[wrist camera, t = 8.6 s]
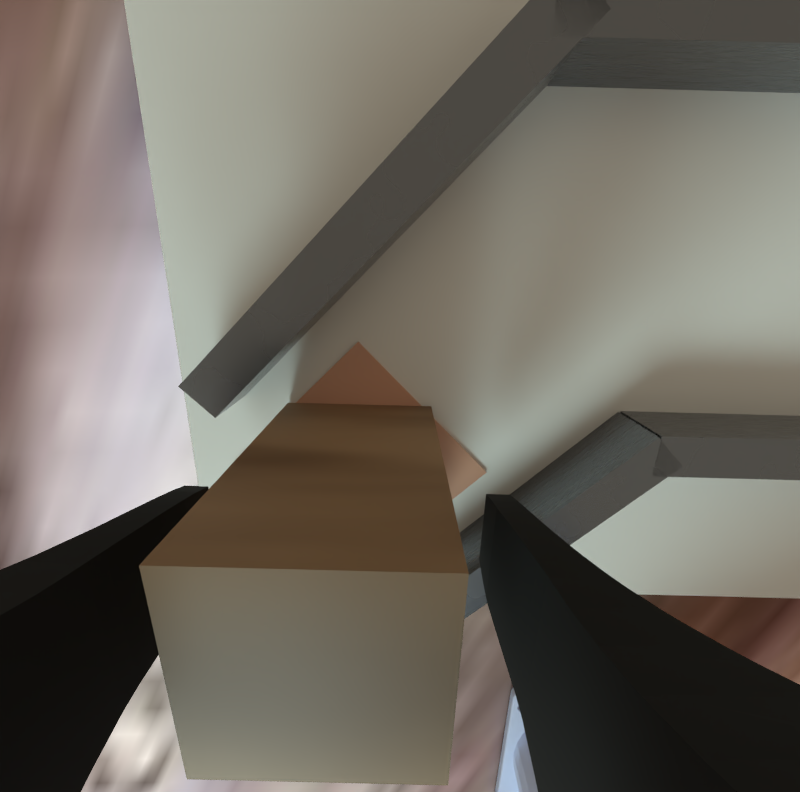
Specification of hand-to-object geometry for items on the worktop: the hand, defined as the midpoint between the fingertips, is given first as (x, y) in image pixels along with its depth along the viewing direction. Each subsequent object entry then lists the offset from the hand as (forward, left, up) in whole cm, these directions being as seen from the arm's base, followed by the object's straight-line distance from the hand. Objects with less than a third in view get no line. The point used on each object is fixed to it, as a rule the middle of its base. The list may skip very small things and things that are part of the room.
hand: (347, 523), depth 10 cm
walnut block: (0, 0, -3) cm, 3 cm away
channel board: (+4, -8, -3) cm, 10 cm away
